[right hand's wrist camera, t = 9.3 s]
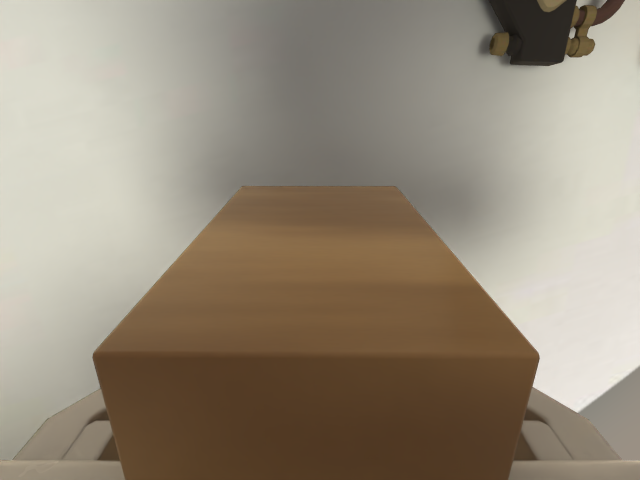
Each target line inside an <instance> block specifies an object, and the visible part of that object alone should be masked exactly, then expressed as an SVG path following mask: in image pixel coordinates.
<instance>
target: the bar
mask: <svg viewBox="0 0 640 480" xmlns="http://www.w3.org/2000/svg"><path fill="white" fill-rule="evenodd" d="M539 359H540V358H539V353H538V352H537V351H536V349H535V348H534V347H533V346H532V345H531V344H530V342H529V341H528V340H527V339H526V338H525V337H524V335H523V334H522V333H521V332H520V331H519V330H518V328H517V327H516V326H515V325H514V324H513V323H512V321H511V320H510V319H509V318H508V317H507V316H506V314H505V313H504V312H503V311H502V310H501V309H500V307H499V306H498V305H497V304H496V303H495V302H494V300H493V299H492V298H491V297H490V296H489V295H488V293H487V292H486V291H485V290H484V289H483V288H482V286H481V285H480V284H479V283H478V282H477V281H476V279H475V278H474V277H473V276H472V275H471V274H470V272H469V271H468V270H467V269H466V268H465V267H464V265H463V264H462V263H461V262H460V261H459V260H458V258H457V257H456V256H455V255H454V254H453V253H452V251H451V250H450V249H449V248H448V247H447V246H446V244H445V243H444V242H443V241H442V240H441V239H440V237H439V236H438V235H437V234H436V233H435V232H434V230H433V229H432V228H431V227H430V226H429V225H428V223H427V222H426V221H425V220H424V219H423V218H422V216H421V215H420V214H419V213H418V212H417V211H416V209H415V208H414V207H413V206H412V205H411V204H410V202H409V201H408V200H407V199H406V198H405V197H404V195H403V194H402V193H401V192H400V191H399V189H398V188H397V187H395V186H242V187H241V188H240V189H239V190H238V191H237V193H236V194H235V195H234V196H233V197H232V198H231V199H230V200H229V202H228V203H227V204H226V205H225V206H224V207H223V208H222V209H221V210H220V212H219V213H218V214H217V215H216V216H215V217H214V218H213V219H212V221H211V222H210V223H209V224H208V225H207V226H206V227H205V228H204V229H203V231H202V232H201V233H200V234H199V235H198V236H197V237H196V238H195V240H194V241H193V242H192V243H191V244H190V245H189V246H188V247H187V248H186V250H185V251H184V252H183V253H182V254H181V255H180V256H179V257H178V259H177V260H176V261H175V262H174V263H173V264H172V265H171V266H170V267H169V269H168V270H167V271H166V272H165V273H164V274H163V275H162V276H161V278H160V279H159V280H158V281H157V282H156V283H155V284H154V285H153V286H152V288H151V289H150V290H149V291H148V292H147V293H146V294H145V295H144V297H143V298H142V299H141V300H140V301H139V302H138V303H137V304H136V305H135V307H134V308H133V309H132V310H131V311H130V312H129V313H128V314H127V316H126V317H125V318H124V319H123V320H122V321H121V322H120V323H119V324H118V326H117V327H116V328H115V329H114V330H113V331H112V332H111V333H110V335H109V336H108V337H107V338H106V339H105V340H104V341H103V342H102V343H101V345H100V346H99V347H98V348H97V349H96V350H95V351H94V353H93V361H94V365H95V369H96V372H97V376H98V380H99V384H100V387H101V391H102V395H103V399H104V402H105V406H106V410H107V414H108V417H109V421H110V425H111V429H112V433H113V436H114V440H115V444H116V448H117V451H118V455H119V459H120V463H121V466H122V470H123V474H124V478H125V480H508V478H509V475H510V471H511V467H512V463H513V459H514V455H515V451H516V448H517V444H518V440H519V436H520V432H521V428H522V424H523V421H524V417H525V413H526V409H527V405H528V401H529V397H530V394H531V390H532V386H533V382H534V378H535V374H536V371H537V367H538V363H539Z"/></svg>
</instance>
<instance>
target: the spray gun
mask: <svg viewBox="0 0 640 480" xmlns="http://www.w3.org/2000/svg"><path fill="white" fill-rule="evenodd" d="M489 1H490V3H491V5H492V7H493V9H494V11H495V13H496V15H497V17H498V19H499V20H500V22H501V24H502V26H503V28H504V30H505V32H504V33H495V34H494V36H493V37H492V40H491V43H490V50H489V51H490V53H491V55H497V56H503V55H504V53H505V52H506V53H507V54H508V55H509V56H511V58H510V64H511V65H536V66H550V65H554V64H558V63H561V62H563V60H564V56H565V54H567V55H568V56H569V57H582V56H583V55H588V54H590V53H591V52H592V51H593V49H594V46H595V42H594V40H593V39H589V38H588V37H587V32H588V29H589V27H590V26H594V25H597V24H600V23H603V22H604V21H606V20H607V19H609V18H610V17H612V16H613V15H614V14H615V13H616V12H617V10H618V9H619V8H620V7H621V5H622V4H623V2H624V1H625V0H607V1H606V3H605V4H604V5H603V6H602V7H601V8H598V9H596V7H595V6H592V5H584V6H582V7H580V9H578V7H577V6H575V5H576V1H577V0H489ZM573 26H574V28H575V29H576V32H575V37H574V38H572V39H570V37H569V33H570V29H571V28H572V27H573Z"/></svg>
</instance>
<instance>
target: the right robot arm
mask: <svg viewBox="0 0 640 480" xmlns="http://www.w3.org/2000/svg"><path fill="white" fill-rule="evenodd" d="M0 480H125V478H124V474H123V470H122V466H121V463H120V459H119V455H118V451H117V448H116V444H115V440H114V436H113V433H112V429H111V425H110V421H109V417H108V414H107V410H106V406H105V402H104V399H103V395H102V391H101V388H100V389H99V390H97V391H95V392H93V393H92V394H90V395H88V396H87V397H85V398H83V399H81V400H80V401H78V402H76V403H74V404H73V405H71V406H69V407H67V408H66V409H64V410H62V411H60V412H59V413H57V414H55V415H54V416H52V417H50V418H48V419H47V420H46V421H45V422H44V424H43V425H42V426H41V427H40V428H39V429H38V431H37V432H36V433H35V434H34V435H33V436H32V438H31V439H30V440H29V441H28V442H27V443H26V445H25V446H24V447H23V448H22V449H21V451H20V452H19V453H18V454H17V455H16V456H15V458H14V459H13V460H0ZM508 480H640V460H622V459H621V458H620V457H619V455H618V454H617V453H616V452H615V451H614V449H613V448H612V447H611V446H610V445H609V443H608V442H607V441H606V440H605V439H604V437H603V436H602V435H601V434H600V433H599V432H598V430H597V429H596V428H595V427H594V426H593V424H592V423H591V422H590V421H589V420H588V419H587V418H585V417H583V416H582V415H580V414H578V413H576V412H575V411H573V410H571V409H570V408H568V407H566V406H564V405H563V404H561V403H559V402H558V401H556V400H554V399H552V398H551V397H549V396H547V395H546V394H544V393H542V392H540V391H539V390H537V389H535V388H534V387H532V390H531V394H530V397H529V401H528V405H527V409H526V413H525V417H524V421H523V424H522V428H521V432H520V436H519V440H518V444H517V448H516V451H515V455H514V459H513V463H512V467H511V471H510V475H509V478H508Z"/></svg>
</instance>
